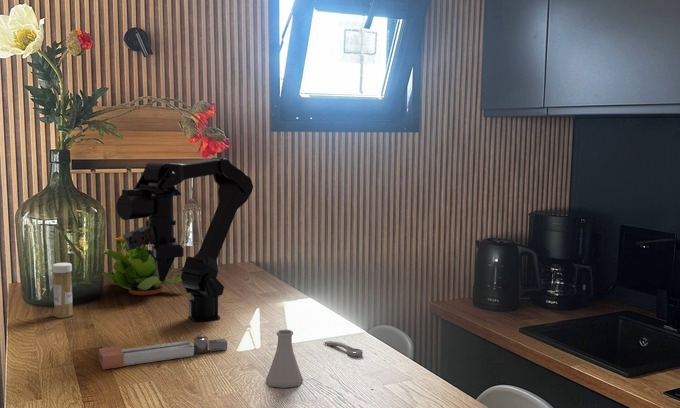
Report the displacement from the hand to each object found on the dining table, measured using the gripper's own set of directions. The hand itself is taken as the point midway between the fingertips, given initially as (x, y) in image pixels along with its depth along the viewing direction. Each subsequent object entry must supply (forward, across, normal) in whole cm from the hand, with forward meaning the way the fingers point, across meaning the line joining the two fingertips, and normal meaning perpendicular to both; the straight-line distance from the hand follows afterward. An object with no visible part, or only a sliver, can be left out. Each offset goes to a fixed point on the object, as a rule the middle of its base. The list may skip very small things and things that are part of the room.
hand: (161, 280), depth 158 cm
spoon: (+13, +30, +33) cm, 47 cm away
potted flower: (+12, -38, +4) cm, 40 cm away
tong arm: (+12, +18, -5) cm, 23 cm away
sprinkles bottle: (+12, -22, -20) cm, 32 cm away
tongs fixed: (+12, +20, -3) cm, 23 cm away
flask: (+12, +42, +14) cm, 46 cm away
